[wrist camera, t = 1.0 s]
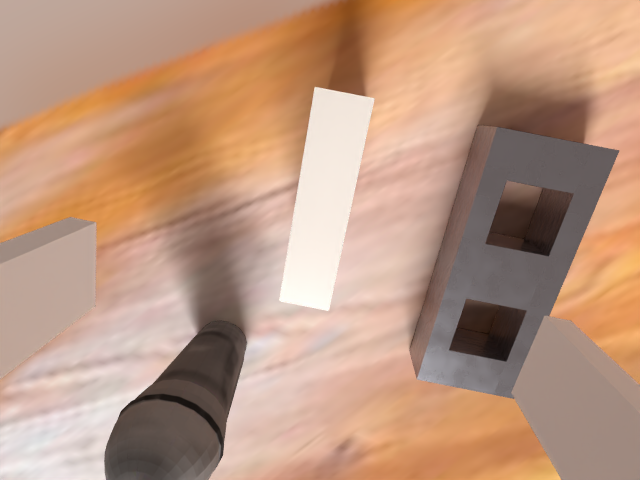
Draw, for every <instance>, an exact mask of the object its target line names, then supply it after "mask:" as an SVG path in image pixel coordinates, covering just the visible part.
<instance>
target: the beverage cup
mask: <svg viewBox="0 0 640 480" xmlns="http://www.w3.org/2000/svg"><path fill="white" fill-rule="evenodd" d="M246 344H247V342H246V338H245V336H244V334H243V332H242V331H241V330H240V329H239V328H238V327H237V326H236V325H234V324H231V323H229V322H225V321H215V322H212V323H209V324H207V325H206V326H205V327H204V328H203V329H202V331H201V332H199V333H198V334H197V335H196V336H195V337H194V338H193V339H192V340H191V341H190V343H189V344H188V345H187V346H186V347H185V348H184V349H183V350H182V352H181V353H180V354H179V355H178V356H177V357H176V358H175V360H174V361H173V362H172V363H171V364H170V365H169V366H168V367H167V369H166V370H165V371H164V372H163V373H162V374H161V375H160V376H159V378H158V379H157V380H156V381H155V382H154V383H153V384H152V385H151V386H149V387H148V388H147V389H146V390H145V391H144V392H142V393H141V394H140V395H139V396H138V397H137V398H136V399H135V400H133V401H131V402H130V403H129V404H128V405H127V406H126V407H125V408H124V409H123V410H122V411H121V412H120V415H119V417H118V420H117V422H116V424H115V426H114V428H113V430H112V433H111V435H110V438H109V440H108V443H107V446H106V450H105V460H104V462H105V476H106V480H208V479H209V478H210V476H211V474H212V472H213V471H214V470H215V468H216V467H217V465H218V463H219V462H220V460H221V458H222V456H223V449H224V439H225V432H226V422H227V418H228V415H229V411H230V407H231V404H232V400H233V397H234V393H235V390H236V386H237V382H238V379H239V375H240V372H241V368H242V365H243V361H244V354H245V350H246Z"/></svg>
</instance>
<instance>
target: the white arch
mask: <svg viewBox="0 0 640 480" xmlns="http://www.w3.org/2000/svg"><path fill="white" fill-rule="evenodd" d="M374 99H375V98H370V97H365V96H360V95H355V94H350V93H344V92H339V91H334V90H329V89H324V88H319V87H315V89H314V95H313V101H312V107H311V113H310V119H309V125H308V131H307V137H306V143H305V148H304V154H303V160H302V166H301V172H300V178H299V184H298V190H297V196H296V202H295V208H294V214H293V220H292V226H291V232H290V238H289V244H288V250H287V256H286V262H285V268H284V274H283V280H282V286H281V292H280V298H279V301H281V302H286V303H291V304H296V305H301V306H306V307H311V308H316V309H321V310H326V311H329V308H330V303H331V298H332V294H333V289H334V284H335V280H336V275H337V270H338V266H339V261H340V257H341V252H342V247H343V243H344V238H345V233H346V229H347V224H348V219H349V215H350V210H351V205H352V201H353V196H354V192H355V187H356V182H357V178H358V173H359V168H360V164H361V159H362V154H363V150H364V145H365V140H366V136H367V131H368V127H369V122H370V117H371V113H372V108H373V103H374Z"/></svg>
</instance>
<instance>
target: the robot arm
mask: <svg viewBox="0 0 640 480" xmlns="http://www.w3.org/2000/svg"><path fill="white" fill-rule="evenodd" d="M95 306H96V222H92V221H87V220H82V219H77V218H72V217H69V218H67V219H64V220H61V221H59V222H56V223H53V224H51V225H48V226H45V227H43V228H40V229H37V230H35V231H32V232H29V233H26V234H24V235H21V236H18V237H16V238H13V239H10V240H8V241H5V242H2V243H0V379H1V378H3V377H4V376H5V375H7V374H8V373H9V372H11V371H12V370H13V369H14V368H16V367H17V366H18V365H20V364H21V363H22V362H24V361H25V360H26V359H28V358H29V357H30V356H31V355H33V354H34V353H35V352H37V351H38V350H39V349H41V348H42V347H43V346H45V345H46V344H47V343H48V342H50V341H51V340H52V339H54V338H55V337H56V336H58V335H59V334H60V333H62V332H63V331H64V330H65V329H67V328H68V327H69V326H71V325H72V324H73V323H75V322H76V321H77V320H79V319H80V318H81V317H82V316H84V315H85V314H86V313H88V312H89V311H90V310H92V309H93V308H94V307H95ZM511 394H512V395H513V397H514V399H515V400H516V402H517V404H518V406H519V407H520V409H521V411H522V412H523V414H524V416H525V418H526V419H527V421H528V423H529V424H530V426H531V428H532V430H533V431H534V433H535V435H536V436H537V438H538V440H539V442H540V443H541V445H542V447H543V448H544V450H545V452H546V454H547V455H548V457H549V459H550V460H551V462H552V464H553V466H554V467H555V469H556V471H557V472H558V474H559V476H560V478H561V479H562V480H640V385H639V384H638V383H637V382H636V381H635V380H634V379H633V378H632V377H631V376H630V375H628V374H627V373H626V372H625V371H624V370H623V369H622V368H621V367H620V366H619V365H618V364H617V363H616V362H615V361H613V360H612V359H611V358H610V357H609V356H608V355H607V354H606V353H605V352H604V351H603V350H602V349H601V348H600V347H598V346H597V345H596V344H595V343H594V342H593V341H592V340H591V339H590V338H589V337H588V336H587V335H586V334H584V333H583V332H582V331H581V330H580V329H579V328H578V327H577V326H576V325H575V324H574V323H573V322H572V321H569V320H564V319H560V318H555V317H550V316H544V318H543V320H542V323H541V325H540V327H539V329H538V332H537V334H536V336H535V339H534V341H533V343H532V346H531V348H530V350H529V353H528V355H527V357H526V360H525V362H524V364H523V366H522V369H521V371H520V373H519V376H518V378H517V380H516V383H515V385H514V387H513V390H512V392H511Z"/></svg>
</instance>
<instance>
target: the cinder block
mask: <svg viewBox="0 0 640 480" xmlns="http://www.w3.org/2000/svg"><path fill="white" fill-rule="evenodd" d="M618 153H619V150H614V149H608V148H603V147H598V146H593V145H588V144H583V143H578V142H572V141H567V140H562V139H557V138H552V137H547V136H541V135H536V134H531V133H526V132H521V131H516V130H510V129H505V128H500V127H492V126H482V125H478V126H477V129H476V132H475V136H474V139H473V142H472V146H471V149H470V152H469V155H468V159H467V162H466V165H465V169H464V172H463V175H462V179H461V182H460V185H459V189H458V192H457V195H456V198H455V202H454V205H453V208H452V212H451V215H450V218H449V222H448V225H447V228H446V232H445V235H444V238H443V241H442V245H441V248H440V251H439V255H438V258H437V261H436V265H435V268H434V271H433V275H432V278H431V281H430V284H429V288H428V291H427V294H426V298H425V301H424V304H423V308H422V311H421V314H420V318H419V321H418V324H417V327H416V331H415V334H414V337H413V341H412V344H411V347H410V355H411V359H412V363H413V366H414V370H415V374H416V378H417V380H422V381H428V382H433V383H438V384H443V385H448V386H453V387H458V388H463V389H468V390H473V391H478V392H483V393H488V394H493V395H498V396H503V397H508V398H513V399H514V397H513V395H512V394H511V392H512V390H513V387H514V385H515V383H516V380H517V378H518V376H519V373H520V371H521V369H522V366H523V364H524V362H525V360H526V357H527V355H528V353H529V350H530V348H531V346H532V343H533V341H534V339H535V336H536V334H537V332H538V329H539V327H540V325H541V323H542V320H543V318H544V316H549V315H550V313H551V311H552V308H553V306H554V303H555V301H556V299H557V296H558V294H559V292H560V289H561V287H562V285H563V282H564V280H565V278H566V275H567V273H568V270H569V268H570V266H571V263H572V261H573V259H574V256H575V254H576V252H577V249H578V247H579V245H580V242H581V240H582V237H583V235H584V233H585V230H586V228H587V226H588V223H589V221H590V219H591V216H592V214H593V212H594V209H595V207H596V204H597V202H598V200H599V197H600V195H601V193H602V190H603V188H604V186H605V183H606V181H607V179H608V176H609V174H610V171H611V169H612V167H613V164H614V162H615V160H616V157H617V155H618ZM506 181H512V182H517V183H522V184H527V185H533V186H538V187H543V191H542V194H541V196H540V199H539V202H538V204H537V207H536V210H535V212H534V215H533V218H532V220H531V223H530V226H529V228H528V231H527V234H526V237H525V239H522V238H517V237H512V236H506V235H501V234H496V233H491V232H489V231H490V228H491V225H492V222H493V219H494V216H495V213H496V210H497V207H498V204H499V201H500V198H501V196H502V193H503V190H504V187H505V184H506ZM466 299H471V300H476V301H481V302H486V303H492V304H497V305H500V306H499V309H498V311H497V314H496V317H495V319H494V322H493V325H492V327H491V330H490V333H489V334H485V333H480V332H475V331H470V330H465V329H460V328H457V325H458V322H459V319H460V316H461V313H462V310H463V307H464V304H465V301H466Z"/></svg>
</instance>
